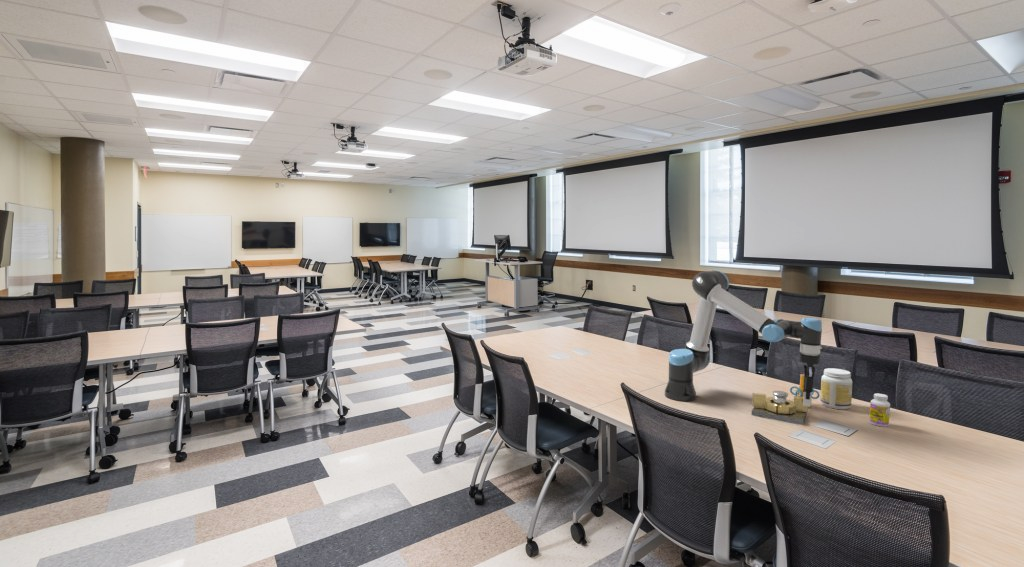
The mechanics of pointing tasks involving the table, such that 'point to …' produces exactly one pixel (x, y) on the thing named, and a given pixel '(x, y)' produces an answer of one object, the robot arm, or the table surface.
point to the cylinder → (801, 388)
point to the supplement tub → (836, 388)
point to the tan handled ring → (787, 408)
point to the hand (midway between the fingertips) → (806, 405)
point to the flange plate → (791, 418)
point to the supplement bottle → (879, 410)
